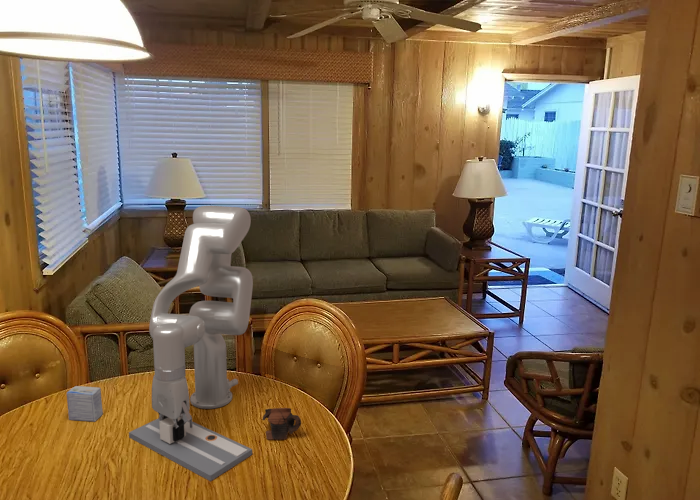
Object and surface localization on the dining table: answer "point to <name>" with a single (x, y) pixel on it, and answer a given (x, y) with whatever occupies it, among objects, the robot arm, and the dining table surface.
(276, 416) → the pottery mug
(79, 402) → the medicine box
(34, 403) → the dining table surface
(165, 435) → the white block with pointer
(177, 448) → the gauge board
